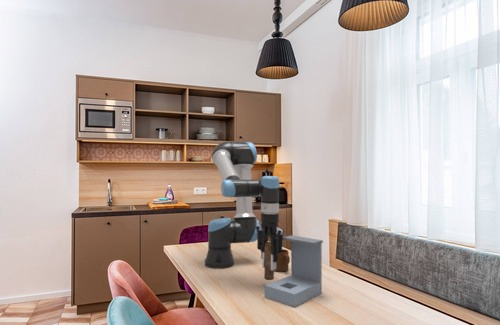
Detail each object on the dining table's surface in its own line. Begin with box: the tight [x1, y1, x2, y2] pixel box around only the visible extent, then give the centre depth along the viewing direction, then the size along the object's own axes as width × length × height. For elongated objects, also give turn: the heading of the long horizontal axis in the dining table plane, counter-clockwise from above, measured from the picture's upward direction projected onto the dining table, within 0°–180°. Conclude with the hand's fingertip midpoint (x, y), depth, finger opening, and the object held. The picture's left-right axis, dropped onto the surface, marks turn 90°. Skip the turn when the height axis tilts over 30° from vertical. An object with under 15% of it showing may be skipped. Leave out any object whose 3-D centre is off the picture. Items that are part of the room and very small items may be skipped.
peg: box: [263, 241, 275, 281], centre depth 143 cm, size 4×4×15 cm
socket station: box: [264, 235, 324, 308], centre depth 133 cm, size 15×18×21 cm
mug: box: [274, 248, 291, 273], centre depth 164 cm, size 12×8×9 cm, turn 22°
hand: (269, 268), depth 143 cm, fingers closed on peg, 4 cm apart
